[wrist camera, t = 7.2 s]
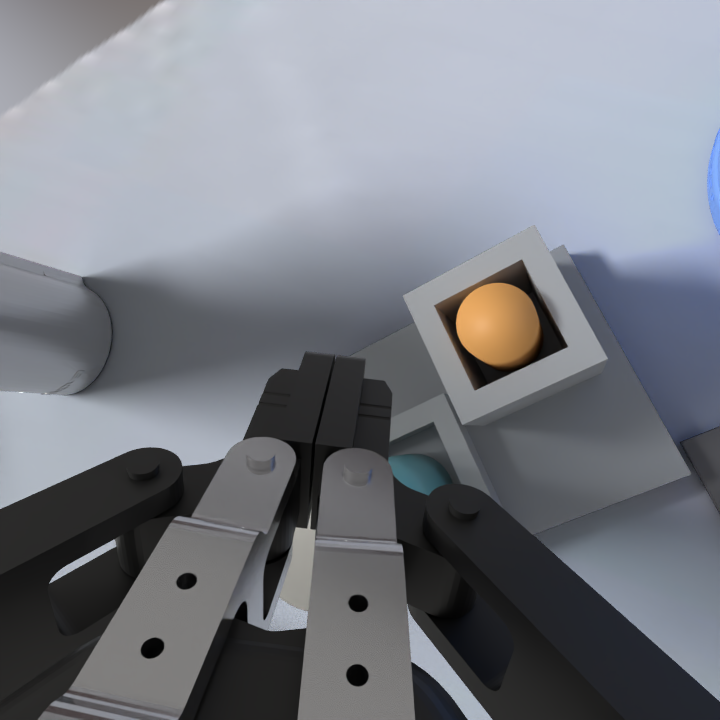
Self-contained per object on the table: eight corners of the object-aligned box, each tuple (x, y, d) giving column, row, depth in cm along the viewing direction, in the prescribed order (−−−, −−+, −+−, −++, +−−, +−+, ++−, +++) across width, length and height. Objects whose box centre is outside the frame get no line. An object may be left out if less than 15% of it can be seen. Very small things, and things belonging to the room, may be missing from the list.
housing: (304, 388, 40) (231, 378, 32) (564, 254, 35) (560, 199, 26) (382, 587, 36) (324, 635, 28) (684, 471, 31) (724, 487, 23)
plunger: (463, 323, 32) (443, 305, 27) (524, 293, 31) (515, 268, 26) (491, 383, 31) (476, 375, 26) (555, 353, 30) (551, 339, 25)
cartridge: (359, 469, 36) (231, 493, 23) (436, 434, 34) (348, 437, 21) (393, 554, 34) (278, 632, 21) (475, 521, 33) (407, 583, 20)
